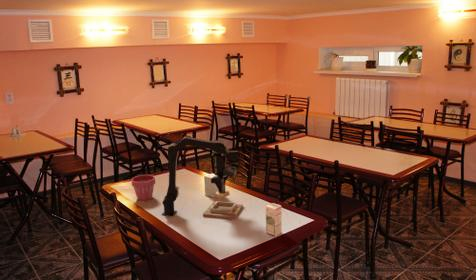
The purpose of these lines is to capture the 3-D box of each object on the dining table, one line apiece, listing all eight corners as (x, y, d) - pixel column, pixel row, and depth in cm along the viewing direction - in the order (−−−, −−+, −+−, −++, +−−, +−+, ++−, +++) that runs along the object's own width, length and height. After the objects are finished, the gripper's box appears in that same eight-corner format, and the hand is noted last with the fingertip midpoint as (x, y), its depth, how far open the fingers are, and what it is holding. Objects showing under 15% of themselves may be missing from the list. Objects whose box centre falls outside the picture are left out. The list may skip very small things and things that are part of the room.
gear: (227, 197, 234) (226, 186, 233) (212, 197, 237) (212, 185, 235) (231, 192, 242) (230, 181, 241) (217, 192, 244) (216, 181, 243)
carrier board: (234, 219, 230) (234, 213, 230) (202, 216, 235) (202, 210, 234) (243, 207, 247) (243, 201, 246) (213, 204, 252) (213, 199, 251)
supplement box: (221, 194, 269) (220, 175, 266) (212, 197, 264) (211, 178, 261) (213, 191, 274) (212, 173, 271) (204, 195, 269) (203, 175, 266)
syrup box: (282, 232, 213) (282, 204, 210) (274, 236, 209) (274, 208, 205) (272, 229, 217) (272, 202, 213) (265, 233, 212) (265, 205, 209)
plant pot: (140, 203, 257) (138, 183, 254) (128, 197, 267) (127, 178, 264) (160, 197, 266) (159, 178, 263) (149, 192, 276) (147, 173, 273)
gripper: (229, 169, 225) (231, 197, 228) (239, 159, 242) (240, 186, 245) (209, 168, 228) (211, 196, 231) (220, 159, 245) (221, 185, 248)
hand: (221, 190), depth 239 cm, fingers closed on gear, 4 cm apart
